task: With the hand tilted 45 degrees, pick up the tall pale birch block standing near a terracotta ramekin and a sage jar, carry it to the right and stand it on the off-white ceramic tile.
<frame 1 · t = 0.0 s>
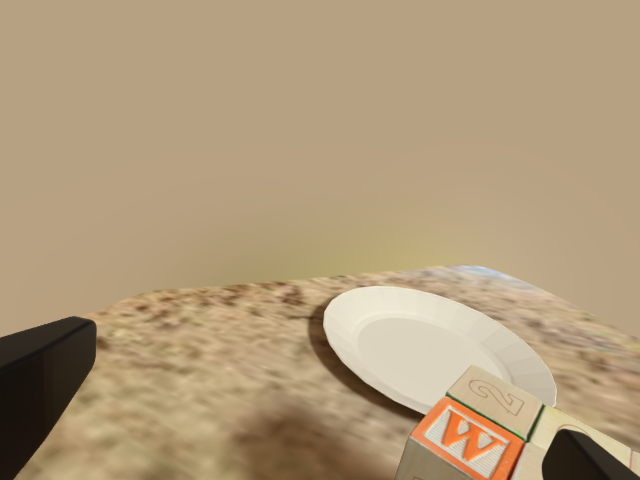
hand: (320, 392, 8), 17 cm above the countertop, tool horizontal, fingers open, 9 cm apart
plate: (427, 362, 41), on the countertop
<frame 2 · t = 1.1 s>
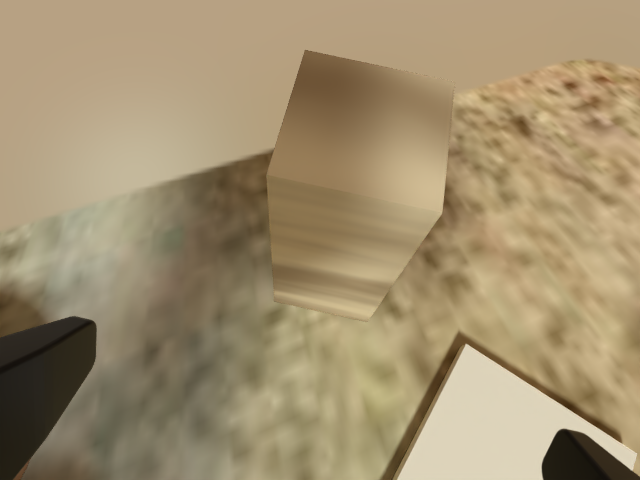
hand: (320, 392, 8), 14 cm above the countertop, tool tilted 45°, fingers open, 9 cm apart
birch block: (329, 268, 24), on the countertop
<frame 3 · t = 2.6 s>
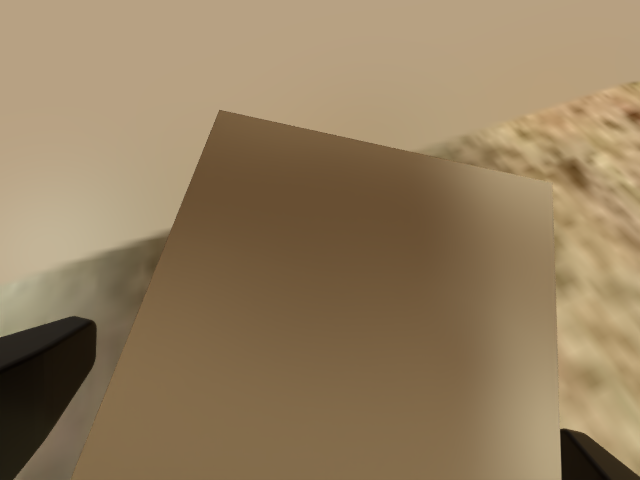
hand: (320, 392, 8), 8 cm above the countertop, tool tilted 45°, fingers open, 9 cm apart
birch block: (306, 399, 16), on the countertop
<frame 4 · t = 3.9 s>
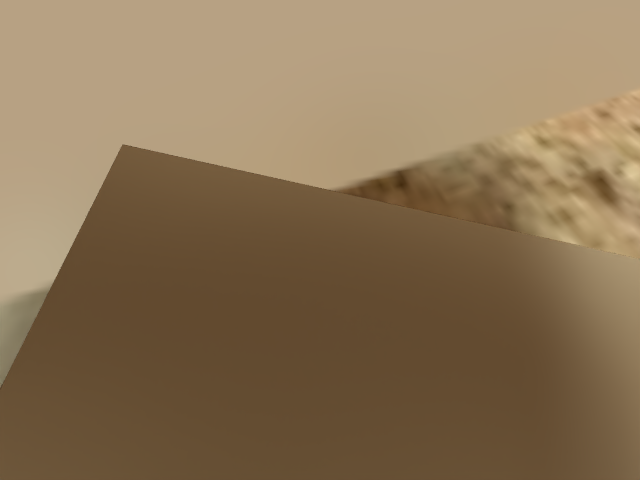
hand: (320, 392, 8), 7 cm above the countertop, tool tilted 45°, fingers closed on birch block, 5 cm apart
birch block: (295, 459, 14), on the countertop, touching gripper
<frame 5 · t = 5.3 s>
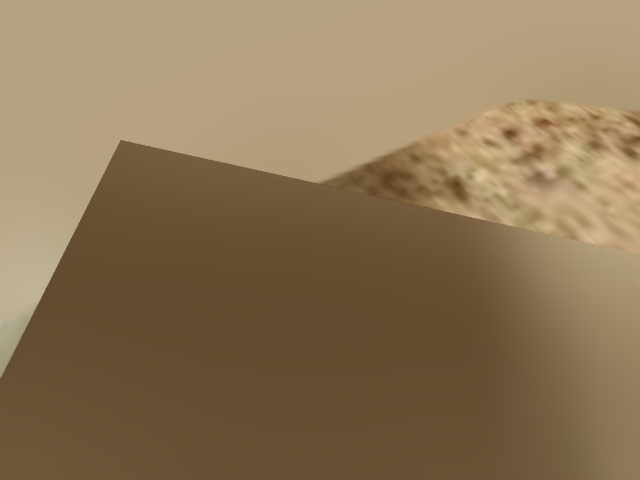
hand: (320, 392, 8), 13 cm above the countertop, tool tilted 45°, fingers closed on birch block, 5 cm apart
birch block: (294, 457, 14), point 7 cm above the countertop, touching gripper
when the fingers open (9 cm above the countertop, at t = 7.1 s): birch block drops 2 cm, resting on tile.
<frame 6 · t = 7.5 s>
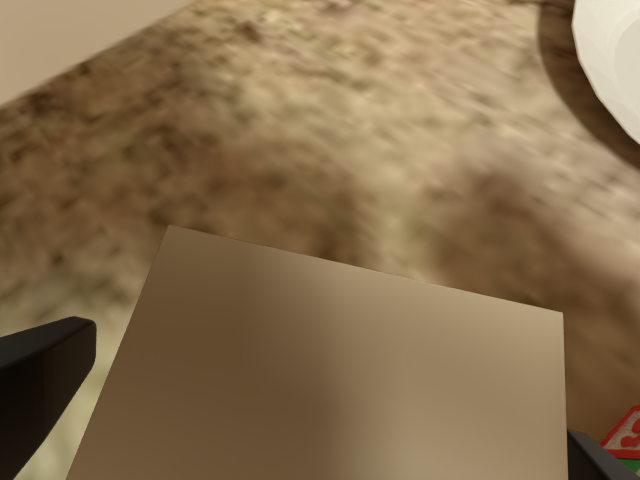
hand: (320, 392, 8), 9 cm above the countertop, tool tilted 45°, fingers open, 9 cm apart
birch block: (294, 456, 15), point 1 cm above the countertop, touching tile
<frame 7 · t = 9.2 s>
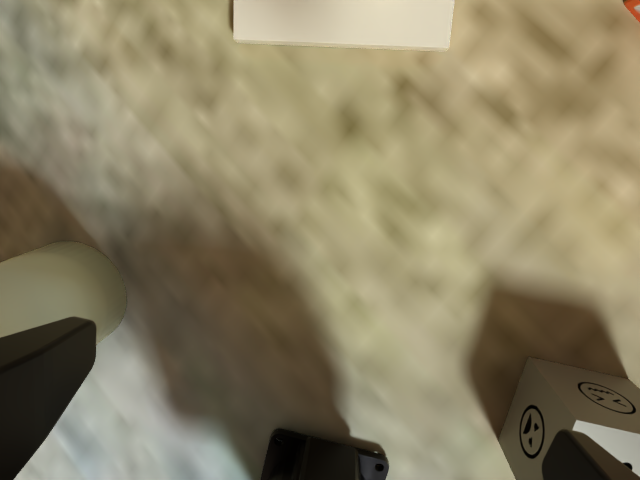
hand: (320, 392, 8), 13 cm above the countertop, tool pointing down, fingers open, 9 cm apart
dice cube: (558, 407, 23), on the countertop
sage jar: (75, 292, 23), on the countertop
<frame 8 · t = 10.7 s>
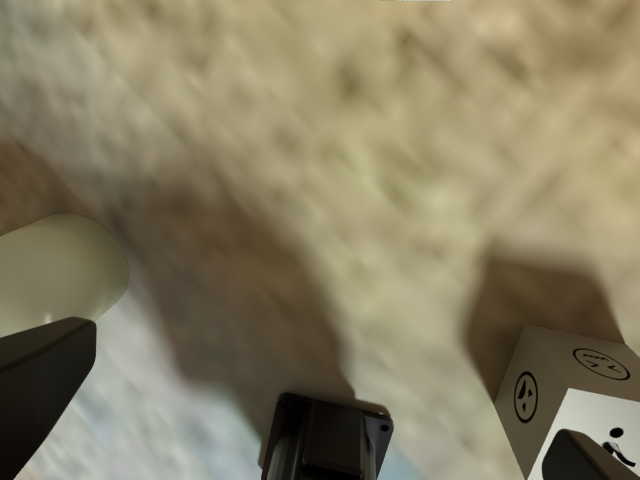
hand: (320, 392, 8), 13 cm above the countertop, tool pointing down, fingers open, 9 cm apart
dice cube: (554, 371, 23), on the countertop
sage jar: (77, 264, 23), on the countertop
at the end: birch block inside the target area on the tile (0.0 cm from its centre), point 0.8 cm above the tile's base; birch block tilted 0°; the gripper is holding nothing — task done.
